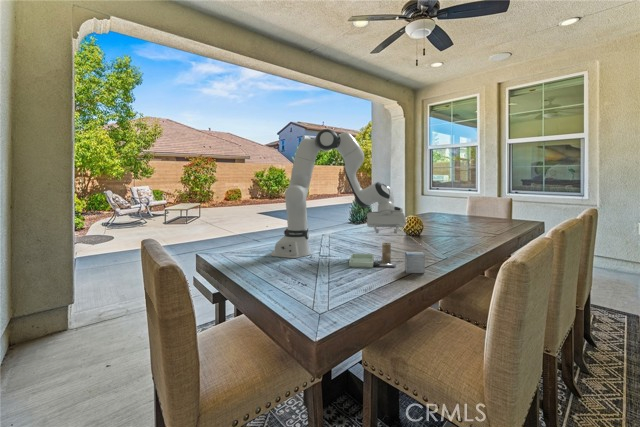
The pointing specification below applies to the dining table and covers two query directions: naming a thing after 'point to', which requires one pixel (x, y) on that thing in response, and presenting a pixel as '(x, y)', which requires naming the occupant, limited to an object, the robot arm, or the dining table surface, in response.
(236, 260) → the dining table surface
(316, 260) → the dining table surface
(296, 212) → the robot arm
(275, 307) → the dining table surface
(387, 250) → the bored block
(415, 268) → the medicine box
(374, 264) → the pin gauge
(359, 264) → the tray
